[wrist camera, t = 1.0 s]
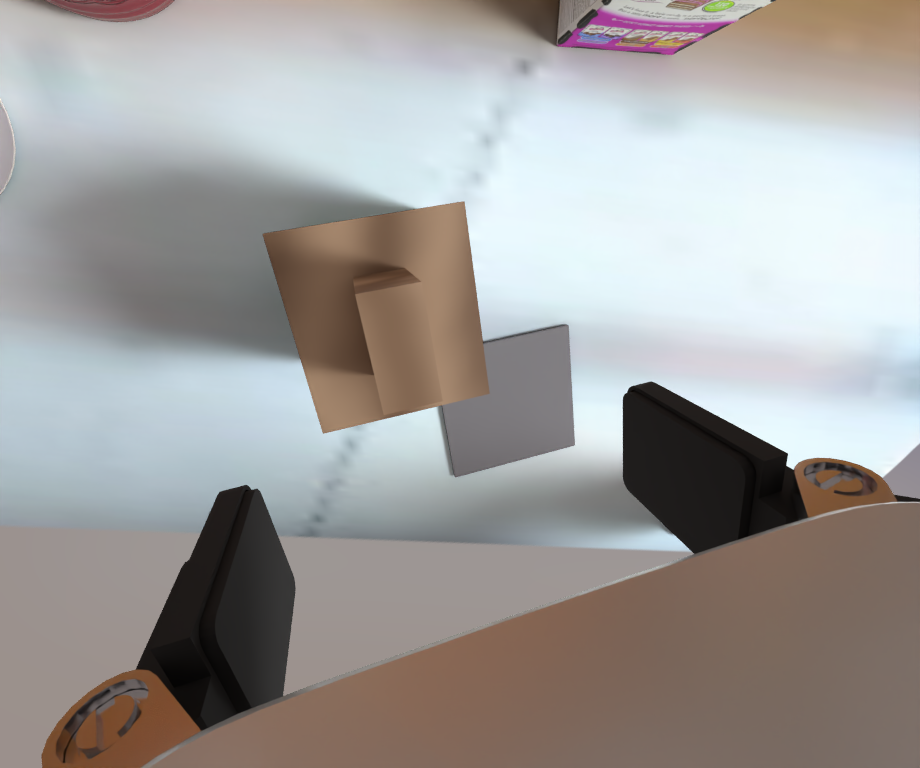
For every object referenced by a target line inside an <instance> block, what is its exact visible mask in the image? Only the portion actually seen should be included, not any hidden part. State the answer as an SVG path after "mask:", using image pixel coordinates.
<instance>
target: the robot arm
mask: <svg viewBox="0 0 920 768" xmlns="http://www.w3.org/2000/svg"><path fill="white" fill-rule="evenodd" d="M787 456H788V454H787V453H786V452H784V451H782V450H780V449H778V448H776V447H774V446H772V445H771V444H769V443H767V442H765V441H763V440H761V439H759V438H757V437H756V436H754V435H752V434H750V433H748V432H746V431H744V430H742V429H741V428H739V427H737V426H735V425H733V424H731V423H729V422H727V421H726V420H724V419H722V418H720V417H718V416H716V415H714V414H712V413H711V412H709V411H707V410H705V409H703V408H701V407H699V406H697V405H696V404H694V403H692V402H690V401H688V400H686V399H684V398H682V397H681V396H679V395H677V394H675V393H673V392H671V391H669V390H667V389H666V388H664V387H662V386H660V385H658V384H656V383H654V382H647V383H643V384H639V385H635V386H632V387H630V388H629V389H628V392H627V393H626V394H625V395H624V397H623V480H624V484H625V486H626V488H627V489H628V491H629V492H630V493H631V494H632V495H633V496H635V497H636V498H637V499H638V500H639V501H640V502H641V503H642V504H643V505H644V506H645V507H646V508H647V509H648V510H649V511H650V512H651V513H652V514H653V515H654V516H655V517H656V518H658V519H659V520H660V521H661V522H662V523H663V524H664V525H665V526H666V527H667V528H668V529H669V530H670V531H671V532H672V533H673V534H674V535H675V536H676V537H677V538H678V539H679V540H680V541H682V542H683V543H684V544H685V545H686V546H687V547H688V548H689V549H690V550H691V551H692V552H693V553H694V554H693V555H691V556H687V557H684V558H681V559H678V560H675V561H672V562H669V563H666V564H663V565H660V566H658V567H655V568H651V569H648V570H645V571H643V572H639V573H636V574H633V575H630V576H627V577H624V578H621V579H618V580H616V581H613V582H610V583H607V584H604V585H601V586H598V587H595V588H592V589H589V590H586V591H583V592H580V593H577V594H574V595H571V596H568V597H565V598H563V599H560V600H557V601H554V602H551V603H548V604H545V605H542V606H539V607H536V608H533V609H530V610H527V611H524V612H521V613H518V614H515V615H512V616H509V617H506V618H504V619H501V620H498V621H495V622H492V623H489V624H486V625H483V626H480V627H478V628H475V629H472V630H469V631H466V632H463V633H460V634H457V635H454V636H451V637H448V638H446V639H443V640H440V641H437V642H434V643H431V644H428V645H426V646H422V647H420V648H417V649H414V650H411V651H408V652H405V653H402V654H399V655H396V656H394V657H391V658H388V659H385V660H382V661H379V662H376V663H374V664H371V665H368V666H365V667H362V668H359V669H357V670H354V671H351V672H348V673H345V674H342V675H339V676H336V677H334V678H331V679H328V680H325V681H322V682H319V683H316V684H314V685H311V686H309V687H306V688H303V689H301V690H298V691H295V692H293V693H290V694H288V695H286V696H283V691H284V682H285V674H286V665H287V657H288V648H289V640H290V632H291V624H292V623H291V622H292V615H293V606H294V598H295V581H294V576H293V573H292V571H291V568H290V566H289V563H288V561H287V558H286V556H285V553H284V550H283V548H282V546H281V543H280V541H279V538H278V535H277V533H276V530H275V528H274V525H273V523H272V520H271V518H270V515H269V512H268V510H267V507H266V505H265V502H264V500H263V497H262V495H261V493H260V491H259V490H258V489H254V490H251V489H250V487H249V486H247V485H244V486H241V487H237V488H233V489H229V490H225V491H221V492H219V494H218V495H217V498H216V500H215V502H214V505H213V507H212V509H211V511H210V514H209V516H208V518H207V521H206V523H205V525H204V527H203V530H202V532H201V534H200V537H199V539H198V541H197V543H196V546H195V548H194V550H193V553H192V555H191V557H190V559H189V560H188V561H187V562H185V564H184V565H183V566H182V568H181V570H180V572H179V575H178V577H177V579H176V581H175V584H174V586H173V588H172V590H171V592H170V594H169V597H168V599H167V601H166V603H165V606H164V608H163V610H162V613H161V614H160V617H159V619H158V621H157V624H156V626H155V628H154V630H153V632H152V635H151V637H150V639H149V641H148V643H147V646H146V648H145V650H144V652H143V654H142V657H141V659H140V661H139V664H138V666H137V668H136V670H133V671H129V672H125V673H122V674H119V675H117V676H115V677H113V678H111V679H109V680H106V681H105V682H103V683H102V684H100V685H99V686H97V687H96V688H94V689H93V690H91V691H90V692H88V693H87V694H86V695H85V696H84V697H82V699H80V700H79V701H78V702H77V703H76V704H75V705H73V706H72V707H71V708H70V709H69V711H68V712H67V713H66V714H65V715H64V716H63V717H62V719H61V720H60V721H59V722H58V723H57V725H56V727H55V728H54V730H53V731H52V733H51V734H50V736H49V738H48V739H47V741H46V744H45V747H44V750H43V753H42V768H920V499H917V498H910V497H904V496H898V495H894V494H893V493H892V491H891V490H890V488H889V486H888V484H887V483H886V482H885V481H884V480H883V479H882V477H881V476H879V475H877V474H876V473H874V472H873V471H871V470H869V469H867V468H865V467H862V466H860V465H857V464H854V463H851V462H847V461H843V460H837V459H831V458H813V459H806V460H804V461H801V462H799V463H798V464H797V465H796V466H795V468H794V470H793V469H791V468H789V467H787V466H786V462H787Z"/></svg>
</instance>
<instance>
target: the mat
mask: <svg viewBox="0 0 920 768" xmlns="http://www.w3.org/2000/svg"><path fill="white" fill-rule="evenodd" d="M483 346H484V354H485V362H486V369H487V377H488V384H489V392H490V394H487V395H483V396H479V397H474V398H470V399H466V400H462V401H458V402H453V403H449V404H445V405H442V409H443V415H444V420H445V426H446V431H447V437H448V442H449V448H450V454H451V459H452V465H453V470H454V476H455V477H458V476H462V475H466V474H470V473H473V472H477V471H481V470H485V469H488V468H492V467H496V466H499V465H503V464H507V463H511V462H514V461H518V460H522V459H526V458H529V457H533V456H537V455H540V454H544V453H548V452H552V451H555V450H559V449H563V448H567V447H570V446H574V445H575V439H574V420H573V401H572V382H571V363H570V344H569V326H568V325H563V326H558V327H554V328H549V329H545V330H540V331H535V332H531V333H526V334H522V335H517V336H512V337H508V338H503V339H499V340H494V341H489V342H485V343H483Z"/></svg>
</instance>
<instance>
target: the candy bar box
mask: <svg viewBox="0 0 920 768" xmlns="http://www.w3.org/2000/svg"><path fill="white" fill-rule="evenodd" d="M773 1H776V0H559V18H558V30H557V46H560V47H576V48H589V49H603V50H618V51H630V52H643V53H656V54H668V55H673V54H675V53H677V52H678V51H680V50H682V49H684V48H686V47H688V46H690V45H692V44H694V43H695V42H697V41H700V40H701V39H703V38H705V37H707V36H709V35H711V34H712V33H714V32H716V31H718V30H720V29H722V28H724V27H726V26H728V25H729V24H731V23H734V22H736V21H737V20H739V19H741V18H743V17H745V16H747V15H748V14H750V13H752V12H754V11H756V10H758V9H760V8H762V7H764V6H766V5H768V4H770V3H772V2H773Z"/></svg>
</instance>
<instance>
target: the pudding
mask: <svg viewBox="0 0 920 768" xmlns="http://www.w3.org/2000/svg"><path fill="white" fill-rule="evenodd" d="M15 151H16V148H15V140H14V132H13V129H12V126H11V122H10V119H9V116H8V113H7V111H6V109H5V107H4V105H3V103H2V101H1V99H0V194H1V193H2V192H3V190H4V189H5V187H6V185H7V184H8V182H9V180H10V178H11V175H12V171H13V168H14V164H15Z"/></svg>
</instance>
